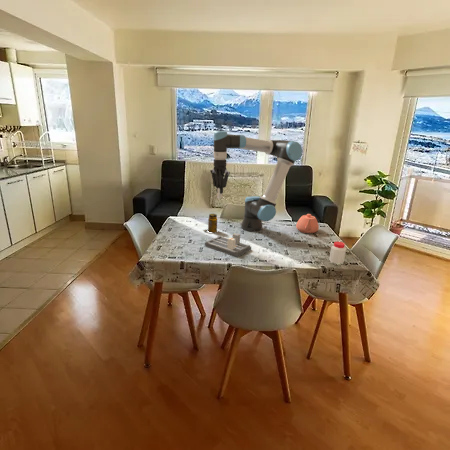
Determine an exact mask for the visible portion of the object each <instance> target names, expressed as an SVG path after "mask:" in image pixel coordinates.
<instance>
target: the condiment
mask: <svg viewBox="0 0 450 450" xmlns="http://www.w3.org/2000/svg"><path fill="white" fill-rule="evenodd" d="M217 216H218V215H217V214H216V213H209V215H208V220H207V223H208V224H207V225H208V227H207V229H204V230H203V232H205V231H207V230H208V231H209V232H213V233H212V234H215V233H214V232H217V231H218V217H217ZM217 233H220V231H218V232H217Z"/></svg>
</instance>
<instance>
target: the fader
mask: <svg viewBox="0 0 450 450" xmlns="http://www.w3.org/2000/svg"><path fill="white" fill-rule="evenodd" d="M227 238H228V242H227V249H230V250H234V249H235V242H236V239H234V238H232V237H227Z"/></svg>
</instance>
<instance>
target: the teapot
mask: <svg viewBox="0 0 450 450" xmlns="http://www.w3.org/2000/svg"><path fill="white" fill-rule="evenodd" d="M319 226H320V225H319V223H318V220H317V218H316V217H315V216H313V215H312V214H311V213H307V214H304V215H302V216H301V217H300V218H299V219H298V220H297V223H296V226H295V227H296V230H297V231H299V232H300V233H304V234H315V233H316V232H318V231H319V228H320V227H319Z"/></svg>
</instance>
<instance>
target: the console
mask: <svg viewBox="0 0 450 450" xmlns="http://www.w3.org/2000/svg"><path fill="white" fill-rule="evenodd" d="M228 238H229V237H225V236H222V235H219V236H217V237H214V238H211V239H208V240H207V241H205V242H204V246H205V247H207V248H210V249H212V250H216V251H218V252H221V253H225V254H227V255H230V256H232V257H233V256H234V257H236V258H238V257H241V256H242V255H244V254H246V253H247V252H250V251H252V246H251V245H250V244H246V243H243V242H241V234H240V233H238V232H235V233H232V237H231V238H234V239H236V242H235V249H234V250H230V249H227V242H228Z"/></svg>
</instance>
